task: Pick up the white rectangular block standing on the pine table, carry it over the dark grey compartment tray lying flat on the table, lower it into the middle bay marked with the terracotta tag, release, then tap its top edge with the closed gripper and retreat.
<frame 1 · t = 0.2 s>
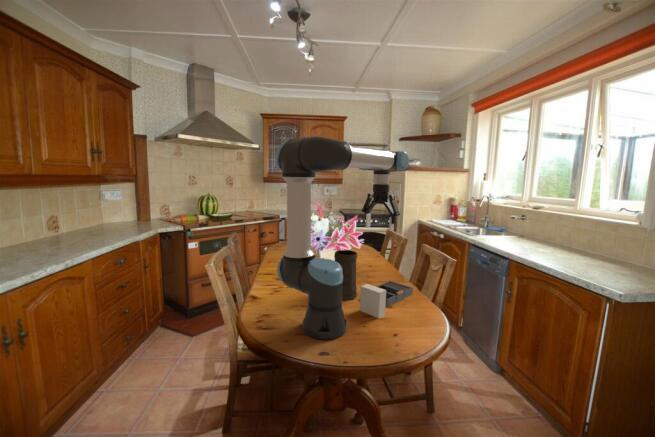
hand: (379, 228, 144), 28 cm above the table, fingers open, 13 cm apart
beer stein: (345, 293, 136), on the table
dark grey compartment tray: (388, 296, 134), on the table
white rectangular block: (372, 312, 117), on the table
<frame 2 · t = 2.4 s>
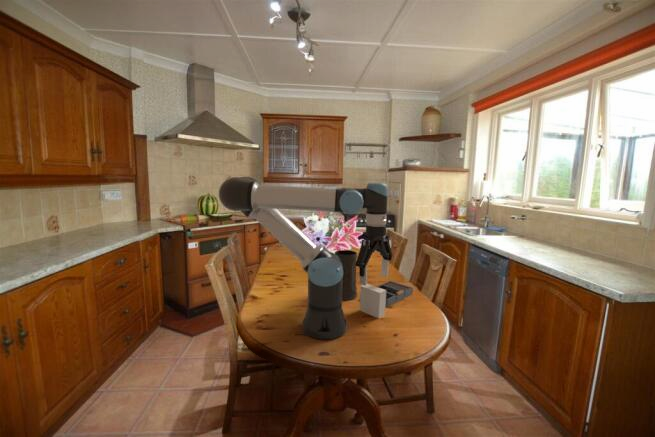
hand: (374, 280, 115), 13 cm above the table, fingers open, 13 cm apart
nothing on the table moved.
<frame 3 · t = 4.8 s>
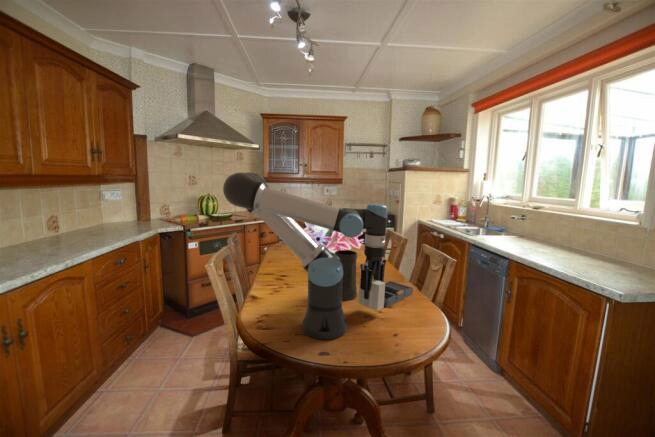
hand: (370, 304, 117), 3 cm above the table, fingers closed on white rectangular block, 4 cm apart
white rectangular block: (370, 305, 117), point 3 cm above the table, touching gripper
everything else where it was.
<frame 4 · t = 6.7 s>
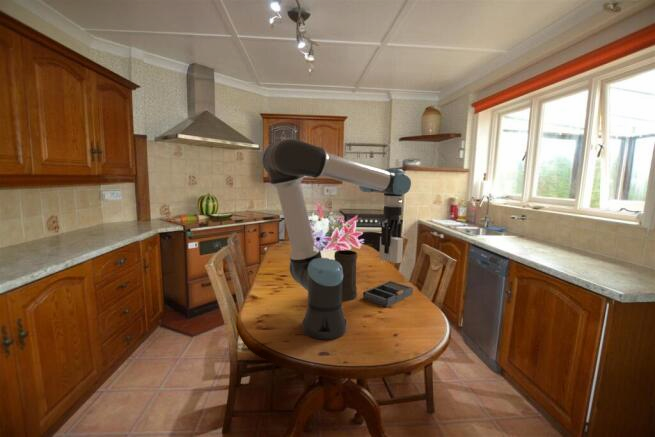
hand: (390, 259, 131), 17 cm above the table, fingers closed on white rectangular block, 4 cm apart
white rectangular block: (390, 260, 131), point 16 cm above the table, touching gripper
everything else where it was.
when the fingers open (4 cm above the table, at t = 8.7 s): white rectangular block drops 2 cm, resting on dark grey compartment tray.
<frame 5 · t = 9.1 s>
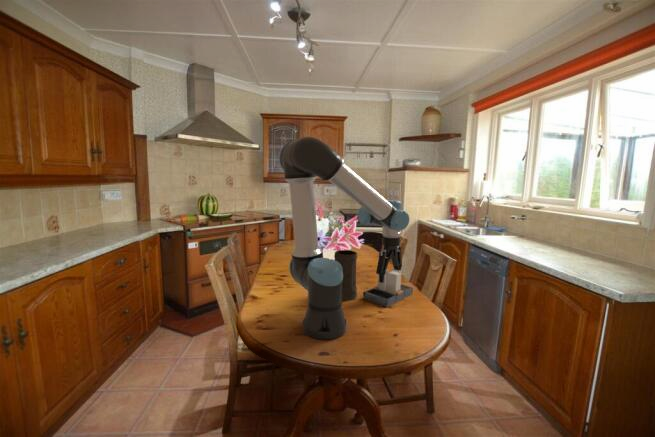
hand: (388, 286, 133), 5 cm above the table, fingers open, 9 cm apart
white rectangular block: (388, 293, 133), point 1 cm above the table, touching dark grey compartment tray
everything else where it was.
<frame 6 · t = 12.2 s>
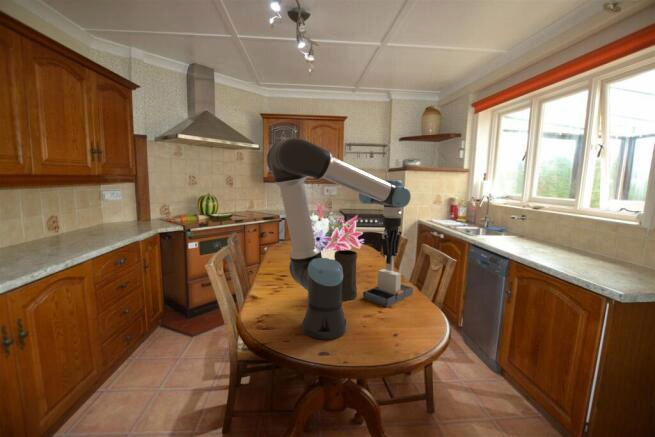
hand: (389, 270, 132), 12 cm above the table, fingers closed
nothing on the table moved.
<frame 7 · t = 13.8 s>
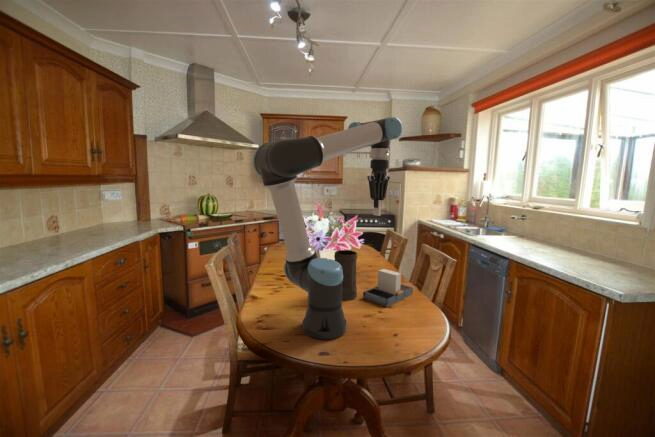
hand: (377, 215, 130), 36 cm above the table, fingers closed
nothing on the table moved.
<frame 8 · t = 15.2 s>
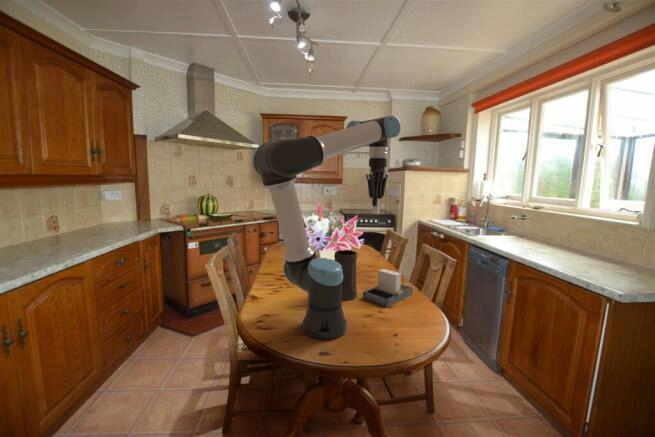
hand: (375, 213, 130), 36 cm above the table, fingers closed
nothing on the table moved.
at the end: white rectangular block 0.1 cm off-centre on the dark grey compartment tray, point 1.1 cm above the dark grey compartment tray's base; white rectangular block tilted 0°; the gripper is holding nothing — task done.
